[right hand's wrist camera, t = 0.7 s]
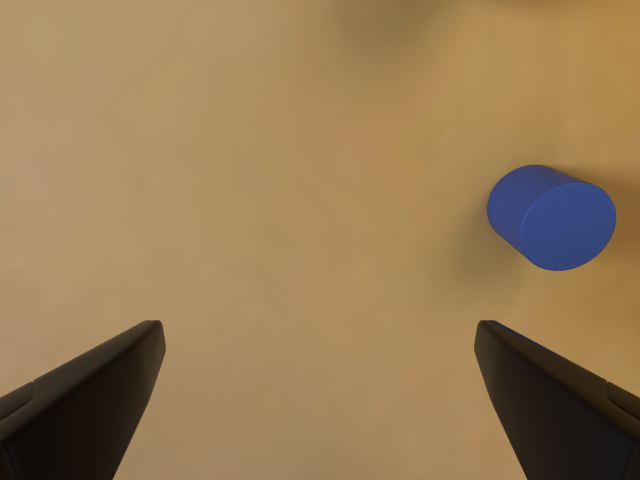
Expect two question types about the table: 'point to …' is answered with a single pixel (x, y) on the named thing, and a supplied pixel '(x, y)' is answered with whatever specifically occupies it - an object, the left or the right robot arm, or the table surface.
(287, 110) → the table surface
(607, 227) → the can
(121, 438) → the right robot arm
